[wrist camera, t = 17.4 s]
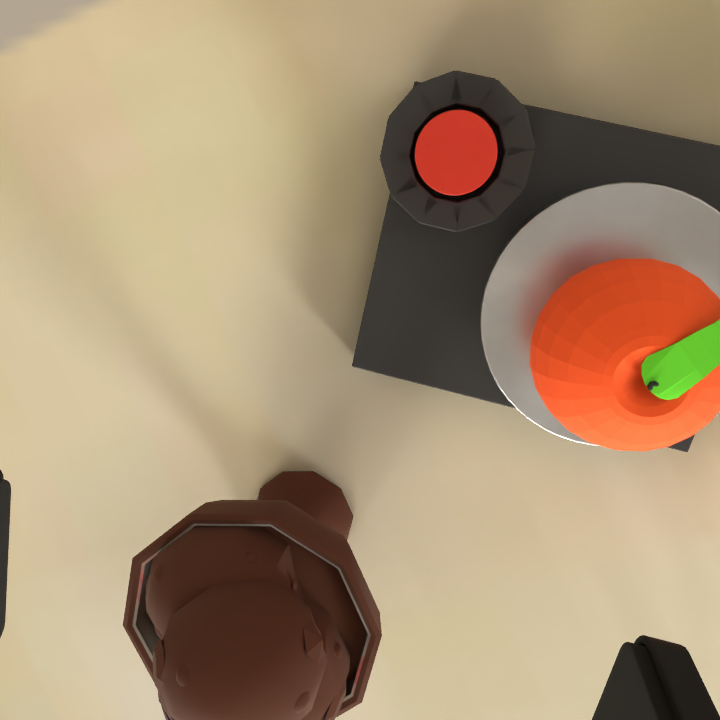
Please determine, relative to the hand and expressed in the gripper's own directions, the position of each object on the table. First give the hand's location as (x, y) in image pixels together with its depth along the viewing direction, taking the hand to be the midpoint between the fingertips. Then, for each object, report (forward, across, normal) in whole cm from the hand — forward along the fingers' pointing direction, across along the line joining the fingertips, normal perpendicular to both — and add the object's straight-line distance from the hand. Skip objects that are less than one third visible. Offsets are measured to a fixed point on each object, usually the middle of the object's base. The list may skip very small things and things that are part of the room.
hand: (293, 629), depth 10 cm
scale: (+23, -6, -3) cm, 24 cm away
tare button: (+21, -1, -7) cm, 22 cm away
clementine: (+20, -9, -2) cm, 22 cm away
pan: (+20, -9, -2) cm, 22 cm away
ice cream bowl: (+24, +3, +13) cm, 27 cm away
